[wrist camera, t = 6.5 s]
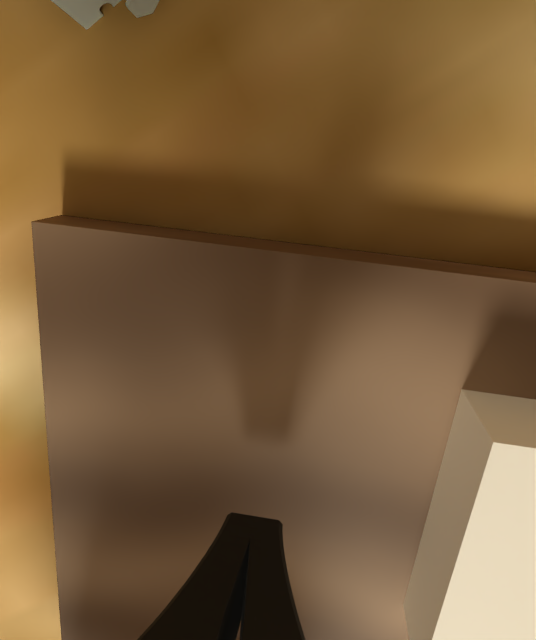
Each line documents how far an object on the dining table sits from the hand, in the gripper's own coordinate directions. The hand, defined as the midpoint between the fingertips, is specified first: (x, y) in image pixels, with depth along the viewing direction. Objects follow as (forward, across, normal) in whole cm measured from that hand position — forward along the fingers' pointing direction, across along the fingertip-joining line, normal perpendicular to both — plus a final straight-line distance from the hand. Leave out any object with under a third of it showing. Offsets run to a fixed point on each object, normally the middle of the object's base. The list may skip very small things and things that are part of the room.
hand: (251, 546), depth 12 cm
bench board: (+4, -5, +1) cm, 7 cm away
